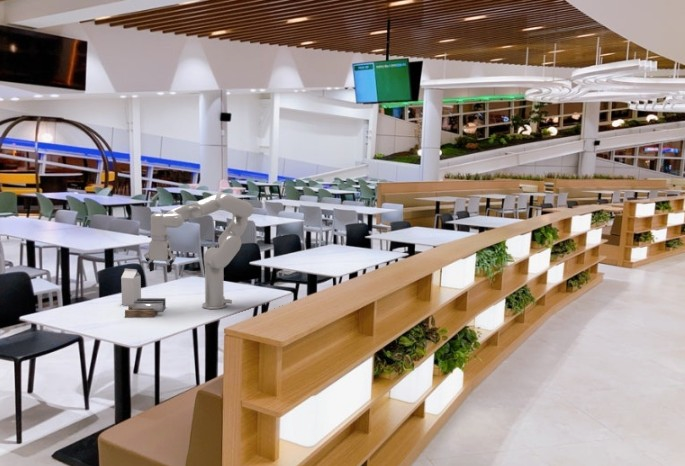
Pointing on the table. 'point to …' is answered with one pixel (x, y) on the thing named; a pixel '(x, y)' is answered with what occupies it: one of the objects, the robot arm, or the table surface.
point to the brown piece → (139, 313)
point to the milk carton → (130, 286)
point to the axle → (147, 306)
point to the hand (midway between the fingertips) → (160, 271)
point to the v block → (152, 301)
